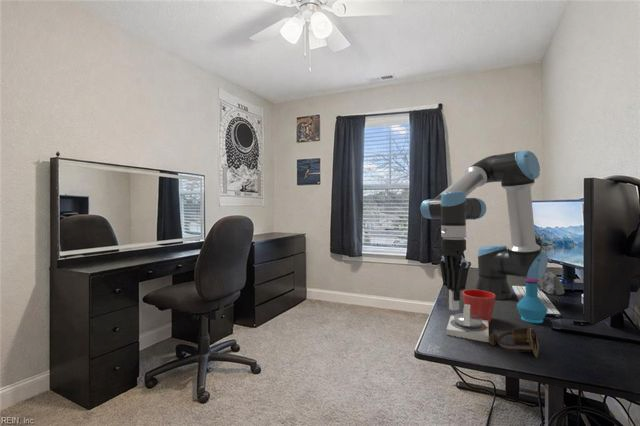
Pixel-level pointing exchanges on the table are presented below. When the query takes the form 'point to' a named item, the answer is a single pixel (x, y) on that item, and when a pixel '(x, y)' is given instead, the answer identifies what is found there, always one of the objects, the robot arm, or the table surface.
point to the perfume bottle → (531, 303)
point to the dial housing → (468, 331)
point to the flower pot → (480, 303)
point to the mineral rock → (551, 284)
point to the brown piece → (519, 340)
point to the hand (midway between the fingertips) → (454, 309)
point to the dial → (467, 318)
